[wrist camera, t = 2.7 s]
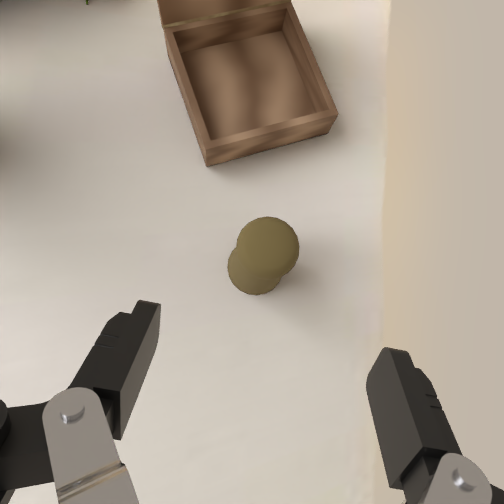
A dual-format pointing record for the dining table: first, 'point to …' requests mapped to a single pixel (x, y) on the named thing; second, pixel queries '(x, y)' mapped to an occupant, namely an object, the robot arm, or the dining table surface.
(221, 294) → the dining table surface
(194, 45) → the walnut box
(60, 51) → the dining table surface
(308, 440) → the dining table surface
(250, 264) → the olive tapered rounded piece
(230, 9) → the box lid
